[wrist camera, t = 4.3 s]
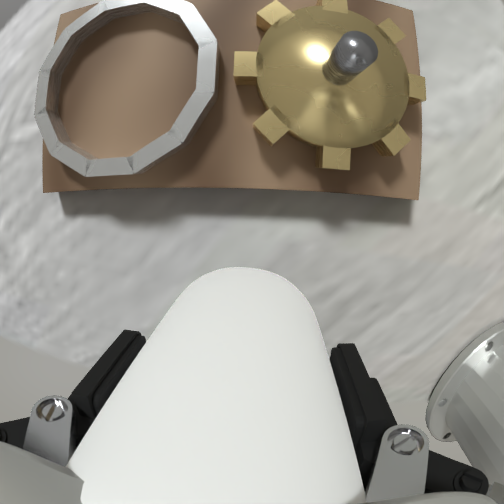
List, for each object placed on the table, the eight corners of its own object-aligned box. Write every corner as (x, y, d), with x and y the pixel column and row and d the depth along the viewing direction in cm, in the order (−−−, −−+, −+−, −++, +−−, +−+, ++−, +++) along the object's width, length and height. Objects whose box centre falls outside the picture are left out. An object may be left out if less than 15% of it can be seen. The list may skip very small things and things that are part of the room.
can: (339, 286, 13) (479, 582, 1) (289, 402, 14) (297, 637, 3) (187, 243, 13) (-57, 499, 1) (162, 368, 14) (57, 587, 3)
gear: (405, 23, 12) (445, -10, 7) (410, 177, 14) (462, 184, 10) (239, -1, 12) (234, -51, 7) (232, 164, 14) (223, 162, 10)
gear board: (402, 20, 13) (412, 10, 11) (405, 197, 16) (418, 200, 14) (72, 22, 13) (60, 14, 11) (57, 190, 16) (43, 192, 14)
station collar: (224, -6, 11) (221, -18, 10) (215, 172, 14) (211, 172, 13) (60, 23, 11) (50, 16, 10) (45, 180, 14) (32, 181, 13)
